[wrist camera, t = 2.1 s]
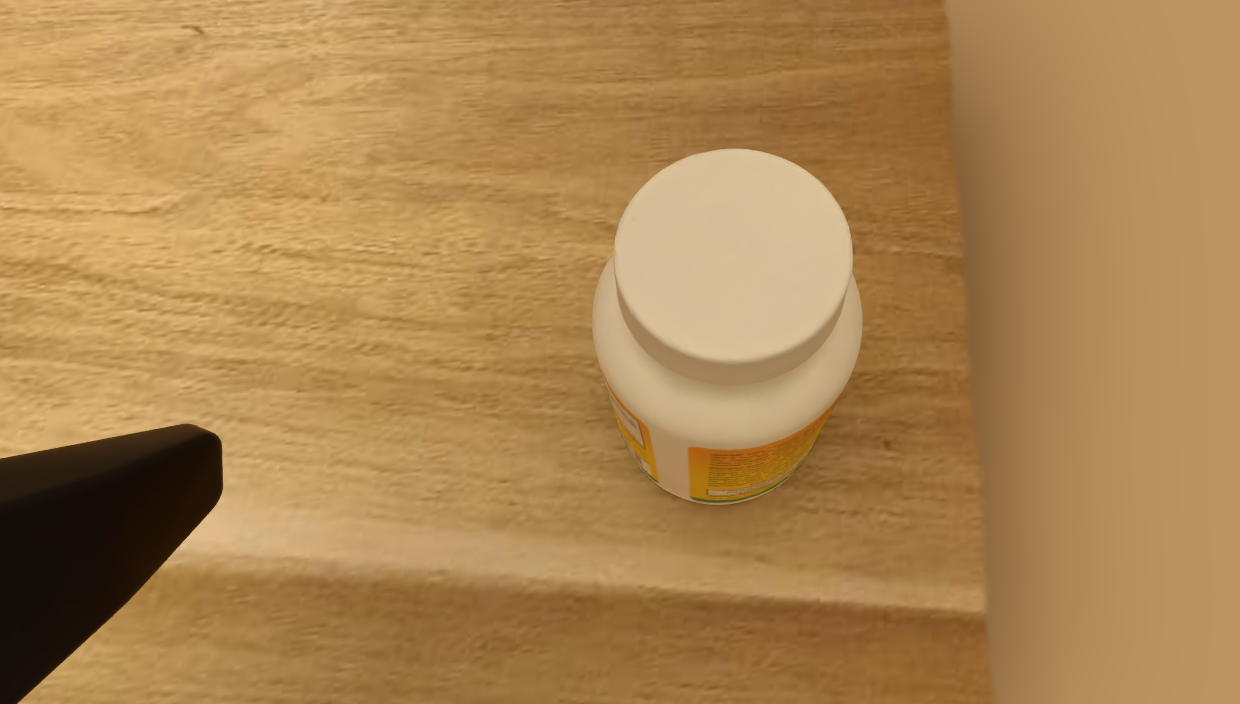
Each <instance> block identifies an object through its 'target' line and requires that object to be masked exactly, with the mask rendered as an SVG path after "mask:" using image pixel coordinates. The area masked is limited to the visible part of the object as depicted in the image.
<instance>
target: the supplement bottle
mask: <svg viewBox="0 0 1240 704" xmlns="http://www.w3.org/2000/svg"><path fill="white" fill-rule="evenodd" d="M852 270H853V248H852V241H851V235H850V230H849V226H848V223H847V221H846V219H845V216H844V214H843V212H842V209H841V208H840V206H839V205H838V203H837V202H836V200H835V199H834V197H833V196H832V195H831V193H830V192H829V191H828V189H827V188H826V187H825V186H824V185H823V184H822V183H821V182H820V181H819V180H818V179H816V178H815V177H814V176H813V175H811V174H810V173H809V172H807V171H806V170H804V169H803V168H801V167H800V166H798V165H796V164H794V163H792V162H790V161H788V160H786V159H784V158H781V157H778V156H775V155H772V154H769V153H764V152H761V151H755V150H747V149H721V150H714V151H709V152H704V153H699V154H695V155H691V156H689V157H686V158H684V159H681V160H679V161H677V162H675V163H673V164H671V165H669V166H668V167H666V168H664V169H663V170H661V171H660V172H658V173H657V174H656V175H655V176H653V177H652V178H651V179H650V180H649V181H648V182H647V183H646V184H645V185H644V186H643V187H642V188H641V189H640V190H639V191H638V192H637V194H636V195H635V196H634V197H633V198H632V200H631V201H630V203H629V204H628V206H627V208H626V210H625V212H624V214H623V216H622V218H621V220H620V223H619V226H618V229H617V232H616V236H615V243H614V251H613V254H612V256H611V257H610V259H609V261H608V263H607V264H606V266H605V268H604V270H603V272H602V275H601V277H600V279H599V282H598V286H597V289H596V292H595V297H594V303H593V310H592V335H593V343H594V348H595V353H596V357H597V361H598V364H599V367H600V370H601V373H602V376H603V379H604V382H605V385H606V388H607V392H608V395H609V398H610V401H611V404H612V407H613V410H614V413H615V416H616V420H617V423H618V425H619V428H620V431H621V434H622V437H623V439H624V442H625V444H626V446H627V449H628V450H629V452H630V454H631V456H632V458H633V459H634V460H635V462H636V463H637V465H638V466H639V468H640V469H641V470H642V471H643V472H644V473H645V474H646V475H647V476H648V477H649V478H650V479H651V480H652V481H653V482H654V483H656V484H657V485H658V486H660V487H661V488H663V489H664V490H666V491H668V492H670V493H672V494H673V495H676V496H678V497H680V498H683V499H685V500H689V501H693V502H697V503H701V504H709V505H725V504H733V503H738V502H743V501H747V500H751V499H754V498H756V497H759V496H762V495H764V494H766V493H768V492H770V491H772V490H773V489H775V488H777V487H778V486H779V485H781V484H782V483H783V482H785V481H786V480H787V479H788V478H789V477H790V476H791V475H792V474H794V472H795V471H796V470H797V469H798V468H799V466H800V465H801V464H802V463H803V461H804V460H805V458H806V456H807V455H808V453H809V452H810V450H811V448H812V446H813V444H814V442H815V440H816V438H817V436H818V435H819V433H820V431H821V429H822V427H823V425H824V424H825V422H826V420H827V418H828V416H829V415H830V413H831V411H832V409H833V407H834V406H835V404H836V402H837V400H838V399H839V397H840V395H841V393H842V392H843V390H844V388H845V386H846V384H847V382H848V380H849V378H850V376H851V374H852V371H853V369H854V366H855V363H856V360H857V357H858V354H859V350H860V346H861V339H862V327H863V313H862V306H861V299H860V295H859V291H858V287H857V284H856V281H855V278H854V276H853V273H852Z"/></svg>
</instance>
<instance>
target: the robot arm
mask: <svg viewBox="0 0 1240 704" xmlns="http://www.w3.org/2000/svg"><path fill="white" fill-rule="evenodd" d="M222 490H223V467H222V443H221V440H220V439H219V437H218V436H217V435H216V434H215V433H213V432H210V431H208V430H205V429H203V428H201V427H198V426H196V425H192V424H180V425H175V426H170V427H165V428H159V429H154V430H149V431H144V432H138V433H133V434H128V435H123V436H117V437H112V438H107V439H101V440H96V441H91V442H86V443H80V444H75V445H70V446H65V447H59V448H54V449H49V450H44V451H38V452H33V453H28V454H23V455H17V456H12V457H7V458H2V459H0V704H17V703H18V702H19V701H21V700H22V699H23V698H24V697H25V696H26V695H27V694H28V693H29V692H30V691H31V690H33V689H34V688H35V687H36V686H37V685H38V684H39V683H40V682H41V681H42V680H43V679H45V678H46V677H47V676H48V675H49V674H50V673H51V672H52V671H53V670H54V669H55V668H57V667H58V666H59V665H60V664H61V663H62V662H63V661H64V660H65V659H66V658H68V657H69V656H70V655H71V654H72V653H73V652H74V651H75V650H76V649H77V648H78V647H80V646H81V645H82V644H83V643H84V642H85V641H86V640H87V639H88V638H89V637H90V636H92V635H93V634H94V633H95V632H96V631H97V630H98V629H99V628H100V627H101V626H102V625H104V624H105V623H106V622H107V621H108V620H109V619H110V618H111V617H112V616H113V615H114V614H115V613H116V612H117V611H118V610H120V609H121V608H122V607H123V606H124V605H125V604H126V603H127V602H128V601H129V600H130V599H131V598H132V597H133V596H134V595H135V594H136V592H137V591H138V590H139V589H140V588H141V587H142V586H143V585H144V584H145V583H146V582H147V581H148V580H149V579H150V578H151V576H152V575H153V574H154V573H155V572H156V571H157V570H158V569H159V568H160V566H161V565H162V564H163V563H164V562H165V561H166V560H167V559H168V558H169V557H170V555H171V554H172V553H173V552H174V551H175V550H176V549H177V548H178V547H179V546H180V544H181V543H182V542H183V541H184V540H185V539H186V538H187V537H188V536H189V535H190V533H191V532H192V531H193V530H194V529H195V528H196V527H197V526H198V525H199V524H200V522H201V521H202V520H203V519H204V518H205V517H206V516H207V515H208V514H209V512H210V511H211V510H212V509H213V508H214V507H215V505H216V504H217V502H218V501H219V499H220V496H221V494H222Z"/></svg>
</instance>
